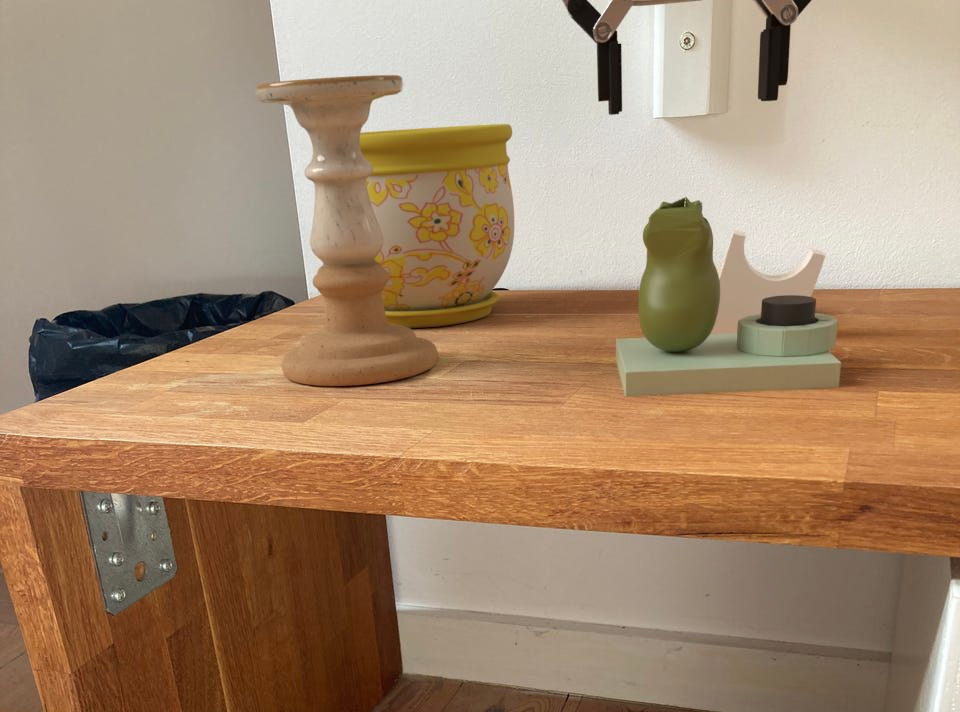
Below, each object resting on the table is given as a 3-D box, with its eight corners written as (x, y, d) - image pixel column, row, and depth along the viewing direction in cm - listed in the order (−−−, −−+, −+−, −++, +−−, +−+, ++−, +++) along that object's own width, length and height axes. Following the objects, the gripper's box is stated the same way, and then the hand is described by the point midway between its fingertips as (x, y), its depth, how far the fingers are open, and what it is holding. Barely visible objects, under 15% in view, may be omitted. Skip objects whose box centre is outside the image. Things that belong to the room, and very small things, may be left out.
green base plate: (812, 352, 77) (816, 304, 76) (850, 387, 68) (856, 333, 66) (615, 361, 79) (615, 314, 77) (625, 397, 69) (625, 344, 67)
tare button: (807, 319, 73) (809, 294, 72) (819, 329, 70) (821, 302, 69) (755, 322, 73) (757, 296, 72) (765, 332, 70) (767, 305, 69)
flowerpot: (469, 337, 90) (456, 129, 82) (299, 331, 97) (273, 139, 90) (547, 302, 104) (542, 121, 97) (394, 298, 111) (378, 130, 104)
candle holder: (468, 357, 83) (450, 72, 73) (371, 393, 74) (336, 74, 65) (352, 347, 89) (322, 84, 80) (250, 379, 80) (203, 87, 71)
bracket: (790, 354, 81) (825, 255, 77) (703, 332, 82) (733, 233, 78) (781, 322, 92) (811, 235, 89) (704, 303, 93) (730, 215, 89)
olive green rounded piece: (723, 344, 74) (731, 193, 69) (707, 360, 69) (714, 200, 65) (648, 342, 76) (650, 195, 71) (627, 358, 72) (628, 203, 67)
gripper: (541, -236, 55) (555, 120, 63) (872, -275, 54) (844, 95, 61) (542, -200, 62) (555, 118, 70) (836, -233, 60) (815, 95, 68)
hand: (690, 107), depth 66 cm, fingers open, 9 cm apart
